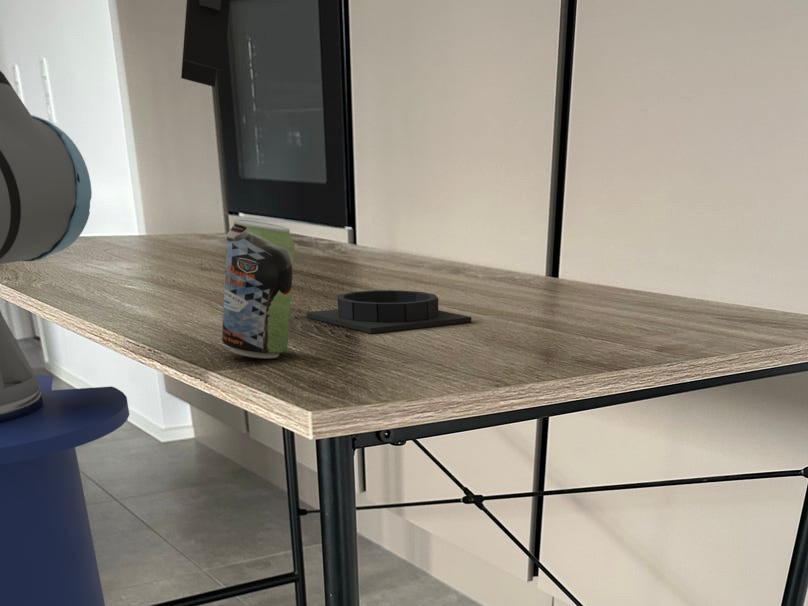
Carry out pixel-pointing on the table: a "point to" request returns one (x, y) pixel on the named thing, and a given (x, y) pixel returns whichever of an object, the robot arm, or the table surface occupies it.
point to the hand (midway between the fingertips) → (200, 75)
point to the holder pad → (388, 326)
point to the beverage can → (257, 289)
